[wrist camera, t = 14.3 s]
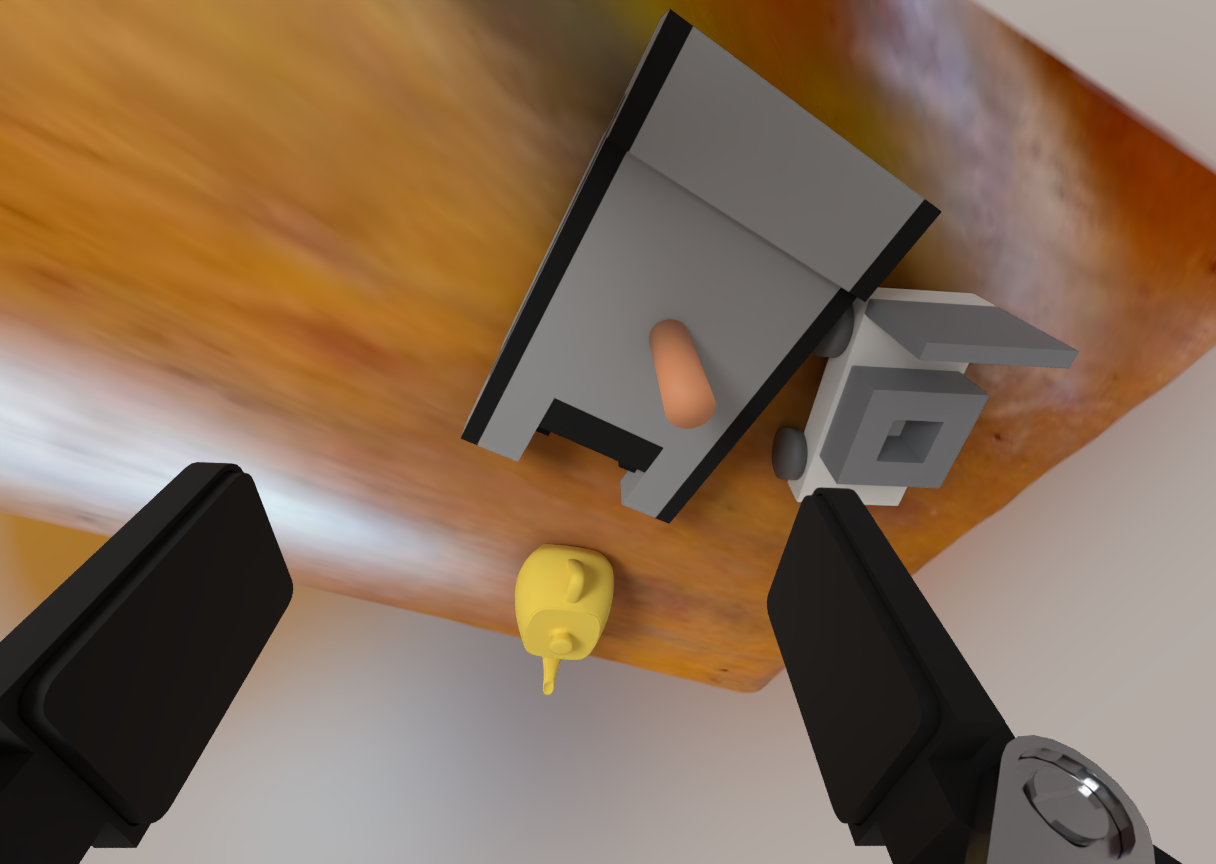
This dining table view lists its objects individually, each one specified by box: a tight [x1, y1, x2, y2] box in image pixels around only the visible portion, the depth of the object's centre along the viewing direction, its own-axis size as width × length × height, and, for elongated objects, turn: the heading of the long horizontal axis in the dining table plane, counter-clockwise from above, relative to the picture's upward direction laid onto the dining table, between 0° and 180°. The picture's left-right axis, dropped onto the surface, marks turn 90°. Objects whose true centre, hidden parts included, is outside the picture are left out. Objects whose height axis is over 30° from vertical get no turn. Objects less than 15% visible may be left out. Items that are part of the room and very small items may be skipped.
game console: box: [461, 9, 941, 523], centre depth 42 cm, size 21×32×8 cm, turn 151°
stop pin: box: [649, 319, 716, 429], centre depth 35 cm, size 3×3×10 cm
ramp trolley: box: [772, 287, 1079, 506], centre depth 44 cm, size 20×13×14 cm, turn 176°
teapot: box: [515, 543, 614, 695], centre depth 58 cm, size 18×11×11 cm, turn 167°
